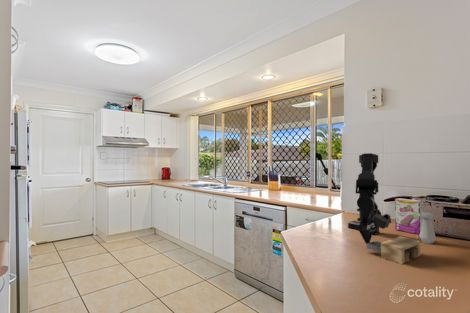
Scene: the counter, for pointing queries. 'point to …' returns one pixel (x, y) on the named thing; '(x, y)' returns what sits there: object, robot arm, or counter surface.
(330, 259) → the counter surface
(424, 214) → the salt shaker
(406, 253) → the oak block
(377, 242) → the slate tile
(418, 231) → the candy bar box
